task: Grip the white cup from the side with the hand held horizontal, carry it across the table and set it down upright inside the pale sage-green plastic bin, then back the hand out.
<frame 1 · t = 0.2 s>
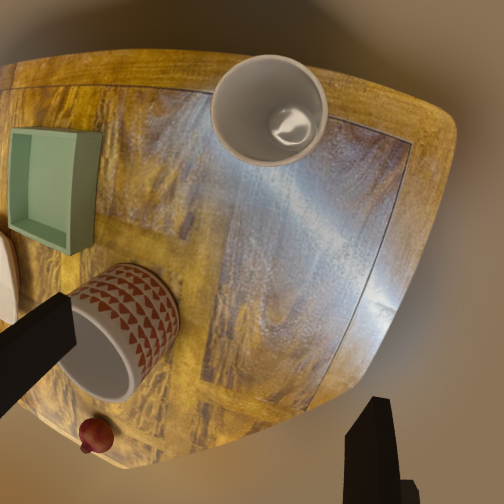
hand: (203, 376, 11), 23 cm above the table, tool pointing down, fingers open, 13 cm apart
white cup: (292, 128, 30), on the table
bin: (59, 181, 38), on the table
fruit: (106, 422, 56), on the table
bowl: (4, 260, 47), on the table
planter: (138, 307, 41), on the table
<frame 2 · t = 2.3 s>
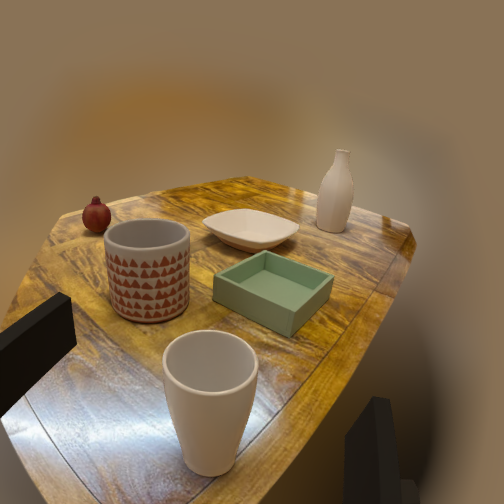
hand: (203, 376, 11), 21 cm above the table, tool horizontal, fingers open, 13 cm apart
white cup: (209, 458, 26), on the table
bottle: (329, 228, 98), on the table
bin: (273, 299, 56), on the table
fruit: (97, 233, 76), on the table
bowl: (250, 242, 80), on the table
planter: (150, 301, 51), on the table
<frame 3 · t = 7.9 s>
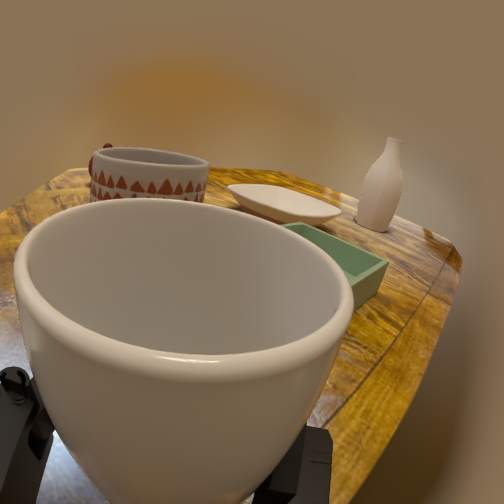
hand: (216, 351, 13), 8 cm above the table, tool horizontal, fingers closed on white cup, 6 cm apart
bottle: (370, 227, 82), on the table
bin: (307, 281, 41), on the table
fruit: (103, 186, 65), on the table
bowl: (280, 222, 66), on the table
planter: (141, 256, 38), on the table
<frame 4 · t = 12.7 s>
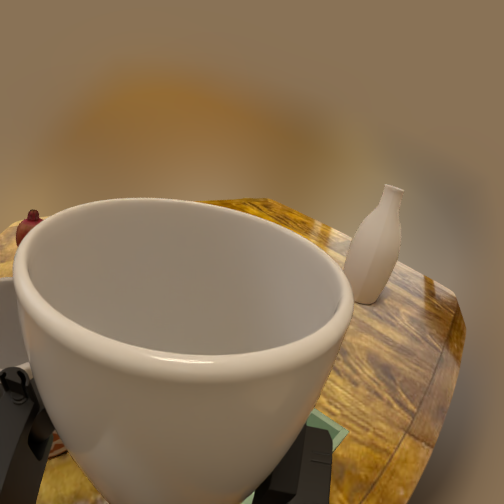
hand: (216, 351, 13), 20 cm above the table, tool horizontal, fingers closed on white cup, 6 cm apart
bottle: (357, 295, 68), on the table
bin: (231, 452, 27), on the table
fruit: (35, 258, 51), on the table
planter: (34, 409, 24), on the table
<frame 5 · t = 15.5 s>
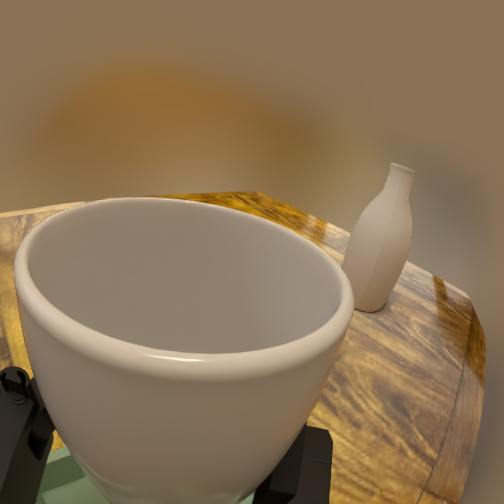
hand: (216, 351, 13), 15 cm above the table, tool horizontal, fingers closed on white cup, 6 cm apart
bottle: (358, 300, 55), on the table
when the fingers open (9 cm above the table, at t = 17.6 s): white cup stays where it is, resting on bin.
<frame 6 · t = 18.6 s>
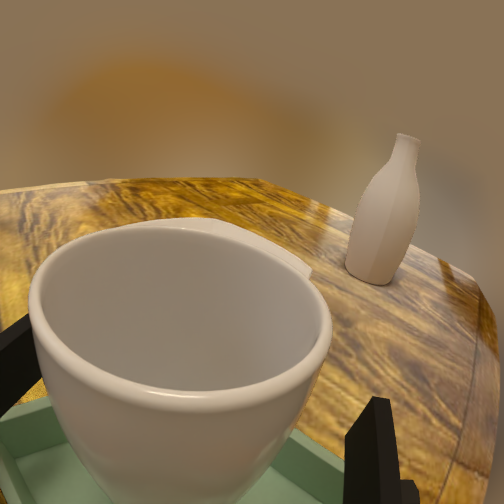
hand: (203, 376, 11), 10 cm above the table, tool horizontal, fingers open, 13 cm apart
bottle: (366, 274, 54), on the table
bowl: (201, 291, 37), on the table
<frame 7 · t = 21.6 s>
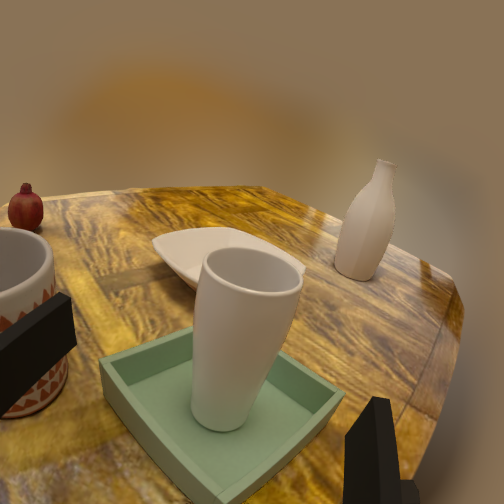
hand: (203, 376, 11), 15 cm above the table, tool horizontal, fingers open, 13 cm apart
white cup: (218, 412, 26), point 1 cm above the table, touching bin
bottle: (352, 272, 67), on the table
bin: (217, 417, 26), on the table
fruit: (26, 233, 49), on the table
bowl: (224, 283, 51), on the table
planter: (11, 369, 23), on the table
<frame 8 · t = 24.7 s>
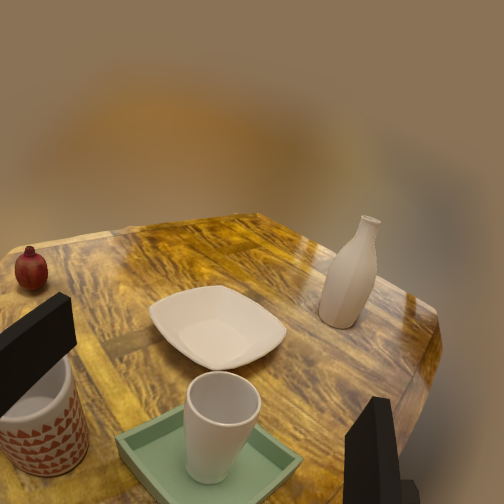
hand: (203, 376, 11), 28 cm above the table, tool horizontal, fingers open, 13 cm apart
white cup: (206, 468, 30), point 1 cm above the table, touching bin
bottle: (335, 319, 72), on the table
bin: (206, 471, 31), on the table
fruit: (33, 289, 54), on the table
bowl: (214, 343, 56), on the table
planter: (42, 435, 27), on the table
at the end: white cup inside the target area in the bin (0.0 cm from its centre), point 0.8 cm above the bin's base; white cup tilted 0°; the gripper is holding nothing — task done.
